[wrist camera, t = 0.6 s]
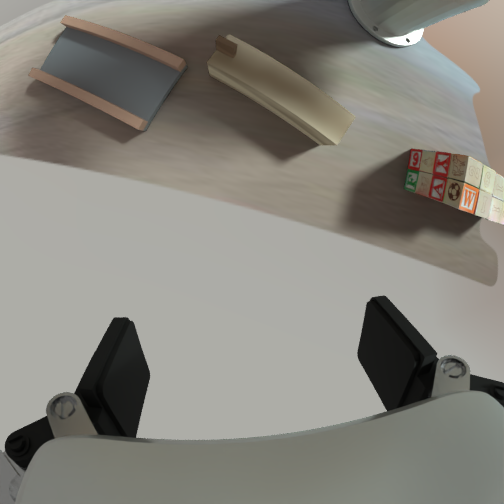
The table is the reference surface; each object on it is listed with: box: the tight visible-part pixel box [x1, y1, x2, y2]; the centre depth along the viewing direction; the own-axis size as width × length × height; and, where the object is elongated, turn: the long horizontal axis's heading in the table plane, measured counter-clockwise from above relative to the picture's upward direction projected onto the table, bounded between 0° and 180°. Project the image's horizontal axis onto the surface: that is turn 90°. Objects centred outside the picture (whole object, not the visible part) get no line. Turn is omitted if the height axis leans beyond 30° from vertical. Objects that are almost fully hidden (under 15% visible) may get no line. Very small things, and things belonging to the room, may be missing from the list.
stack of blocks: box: [404, 149, 504, 225], centre depth 31 cm, size 21×6×12 cm, turn 81°
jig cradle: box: [28, 15, 187, 131], centre depth 25 cm, size 9×20×3 cm, turn 57°
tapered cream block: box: [207, 34, 355, 145], centre depth 27 cm, size 4×16×9 cm, turn 58°
